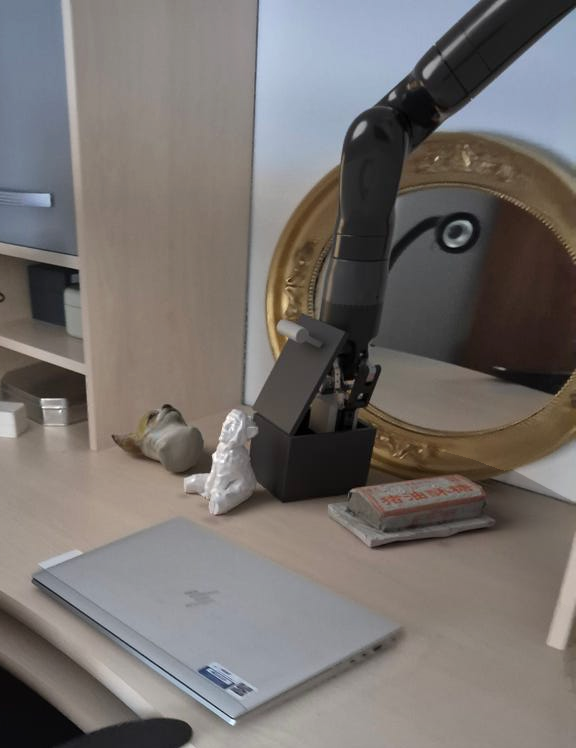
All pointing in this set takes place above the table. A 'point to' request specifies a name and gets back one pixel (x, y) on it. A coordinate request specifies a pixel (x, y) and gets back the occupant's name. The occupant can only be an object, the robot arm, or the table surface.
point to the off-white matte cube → (326, 413)
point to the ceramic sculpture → (164, 439)
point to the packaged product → (413, 509)
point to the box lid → (299, 371)
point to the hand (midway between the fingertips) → (332, 429)
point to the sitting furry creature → (228, 467)
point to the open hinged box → (310, 459)
